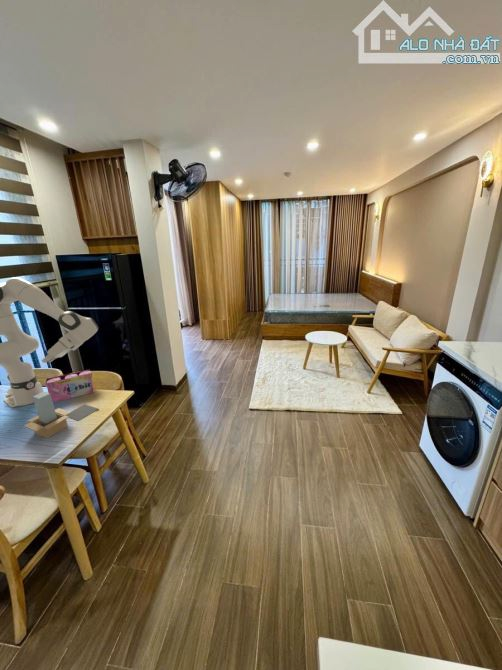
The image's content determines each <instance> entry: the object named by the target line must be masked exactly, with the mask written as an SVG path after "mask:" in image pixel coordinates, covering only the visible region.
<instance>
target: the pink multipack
mask: <svg viewBox="0 0 502 670" xmlns="http://www.w3.org/2000/svg"><path fill="white" fill-rule="evenodd" d="M91 371H92V370H91V369H85V370H80V371H74V372H71V373H66V374H62V375H57V376H53V377H47V378H46V380H45V385H46V388H47V393H50V395H51V398H52V402H53V404H54V403H58V402H62V401H64V400H68V399H73V398H77V397H81V396H83V395H87V394H91V393H92V394H93V393H94V392H95V391H94V383H93V373H92V372H91ZM93 391H94V392H93Z"/></svg>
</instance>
